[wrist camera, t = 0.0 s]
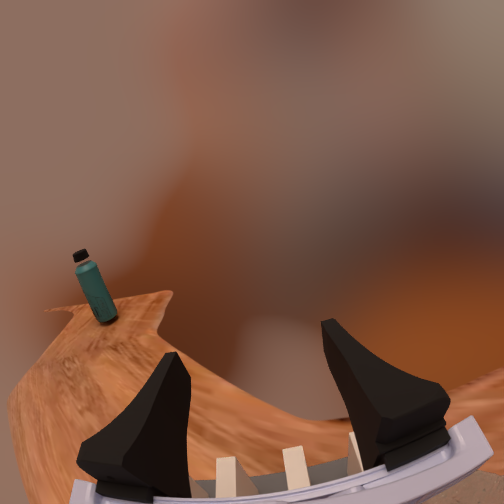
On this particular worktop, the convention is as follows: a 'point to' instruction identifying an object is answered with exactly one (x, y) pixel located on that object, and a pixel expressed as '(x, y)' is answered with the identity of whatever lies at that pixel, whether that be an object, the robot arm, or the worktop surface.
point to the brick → (473, 490)
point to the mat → (279, 480)
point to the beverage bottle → (94, 288)
